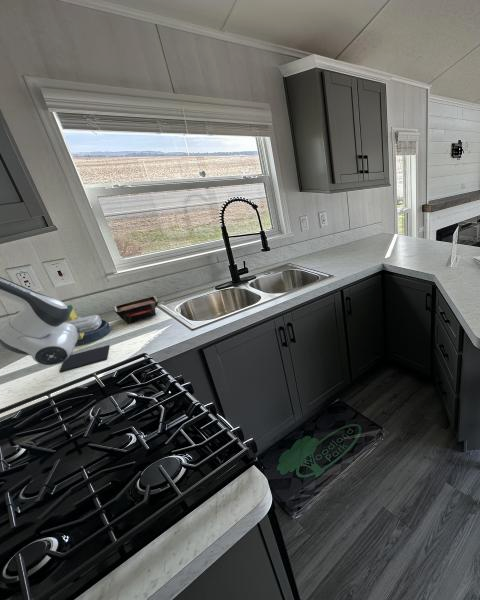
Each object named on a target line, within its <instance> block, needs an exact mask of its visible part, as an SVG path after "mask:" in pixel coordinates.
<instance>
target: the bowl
mask: <svg viewBox="0 0 480 600" xmlns="http://www.w3.org/2000/svg"><path fill="white" fill-rule="evenodd" d="M100 319H101V318H100ZM101 321H102V323H101V325H100V326H99V328H97V329H96V330H93V331H89V332H85V333H84V335H83V338H82V339H80V340H77V342H76V344H75V346H81V345H85V344H90V343H92V342H94V341H97V340H99V339H102V338H103V337H105V336H106V335H108V334H109V333H110V332H111V330H112V327H111V324H110V323H109V321H108V320H106V319H101Z"/></svg>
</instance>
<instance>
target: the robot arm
mask: <svg viewBox="0 0 480 600" xmlns="http://www.w3.org/2000/svg"><path fill="white" fill-rule="evenodd" d="M0 296H1V297H4V298H6V299H9V300H11V301H14V302H17V303H19V304H21V305H22V306H23V308H22V309H21V310H20V311H19V312H17V314H15V315H14V316H13V317H12V318H10V319H9V320H7V321H6V322H5V323H4V324H3V325H2V326H1V327H0V345H1V346H2V348H4V349H6V350H8V351H11V352H13V353H15V354H19V355H25V356H31V358H32V359H33V360H34V361H35V362H36V363H38V364H39V365H43V366H55V365H58V364H60V363H63V361H65V360H66V359H67V358H68V357H69V356H70V355H72V354H73V352H74V350H75V348H76V345H75V344H76V342H77V340H78V337H79V334H81V333H85V332H89V331H93V330H96V329H97V328H99V326H100V325H101V323H102V321H101V317H100V315H99V314H93V315H88V316H84V317H82V316H77V317H75V319H74V320H70V321H66V320H68V319H69V308H68V306H69V305H67V304H66V303H65V302H63V301H61V300H59V299H57V298H54V297H51V296H49V295H45V294H42V293H40V292H37V291H34V290H32V289H30V288H27V287H25V286H23V285H21V284H19V283H15V282H13V281H11V280H9V279H6V278H4V277H2V276H0ZM65 321H66V322H65Z"/></svg>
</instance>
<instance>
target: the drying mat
mask: <svg viewBox="0 0 480 600" xmlns="http://www.w3.org/2000/svg"><path fill="white" fill-rule="evenodd" d="M110 347H111V346H110V344H107V345H103V346H101V347H96V348H93V349H89V350H85V351H81V352H78V353H77V352H76V353H72V354H71V355H70V356H69V357H68V358H67V359H66V360H65V361H63V362H61V363H62V364H61V366H60V368H59V373H63V372H67V371H70V370H74V369H78V368H81V367H85V366H89V365H92V364H95V363H99V362H102V361H103V362H104V361H106V360H108V358H109V357H108V356H109V352H110Z"/></svg>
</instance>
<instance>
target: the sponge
mask: <svg viewBox="0 0 480 600" xmlns="http://www.w3.org/2000/svg"><path fill="white" fill-rule="evenodd" d="M67 306H68V308H69V319H68V320H66V321H70V320H74V319H75V317H78V315H77V313H76V311H75V309H74V307H73V305H72V304H69V305H67ZM66 321H65V322H66ZM83 335H84V333H81V334H79V337H78V340H80V339H82V338H83Z"/></svg>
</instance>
